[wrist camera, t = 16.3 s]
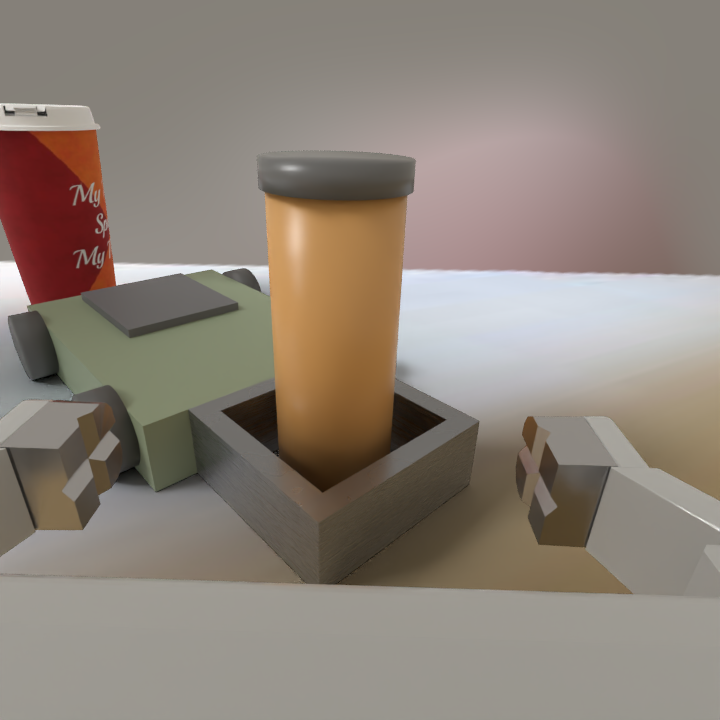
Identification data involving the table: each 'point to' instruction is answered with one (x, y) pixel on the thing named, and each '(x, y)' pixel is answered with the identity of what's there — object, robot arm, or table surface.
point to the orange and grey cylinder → (334, 303)
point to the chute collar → (343, 501)
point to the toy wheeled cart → (153, 356)
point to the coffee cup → (54, 200)
